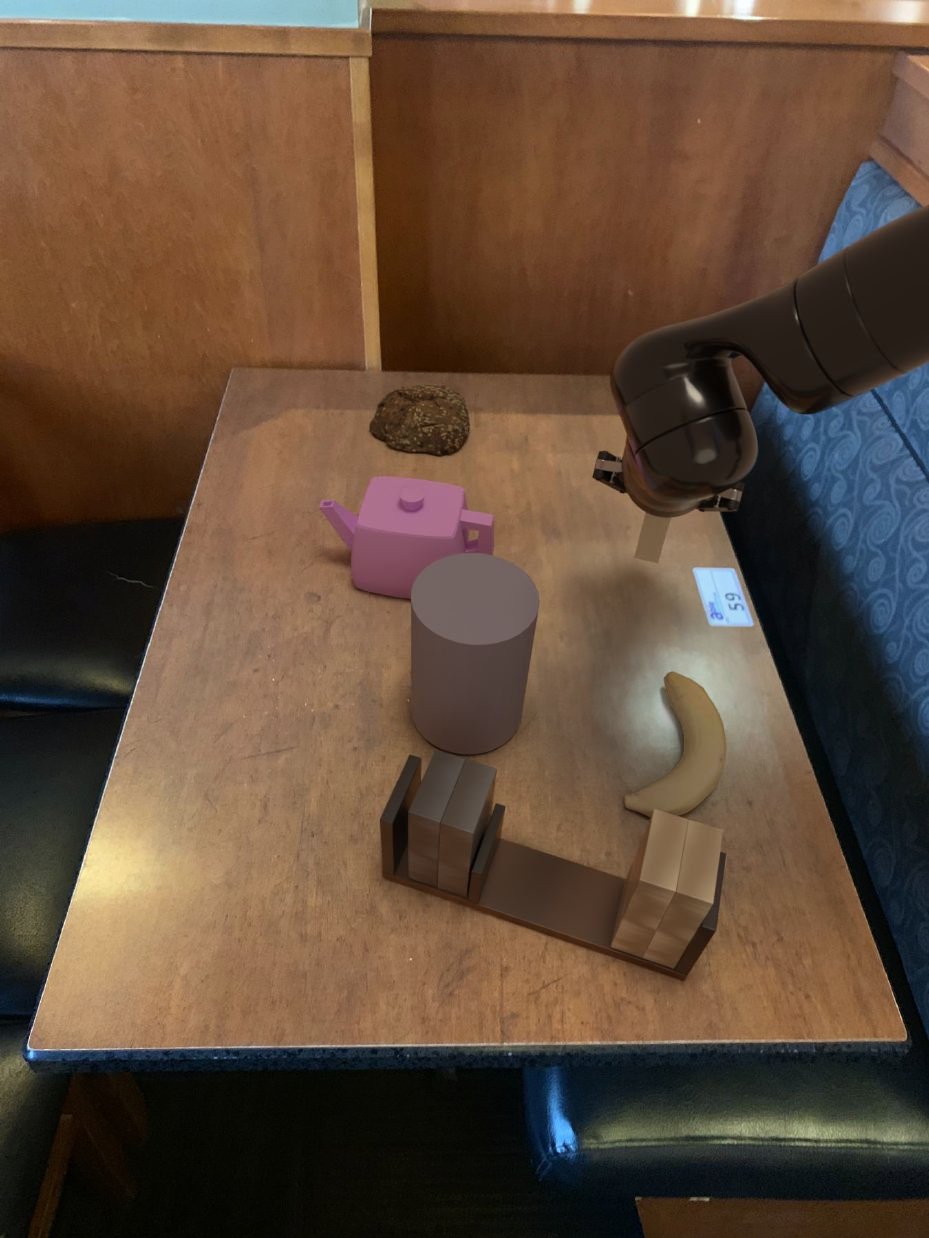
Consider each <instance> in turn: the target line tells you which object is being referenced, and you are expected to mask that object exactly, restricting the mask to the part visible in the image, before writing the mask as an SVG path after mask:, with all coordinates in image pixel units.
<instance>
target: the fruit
mask: <svg viewBox="0 0 929 1238" xmlns="http://www.w3.org/2000/svg"><path fill="white" fill-rule="evenodd" d="M663 684H664V688H665V692H666V695H667V697H668V700H669V703H670V705H671V707H672V709H673V711H674V713H675V715H676V717H677V719H678V721H679V723H680V726H681V729H682V730H681V731H682V735H683V742H684V743H683V744H684V746H683V748H684V749H683V753H682V756H681V758H680V760H679V762H678V763H677V765H675V767H674V768H673V770H672V771H670V772H668V773H667V774H666V775H664V776H663V777H661V778H660V779H658V780H656V781H655V782H653V783H651V784H649V785H647V786H646V787H644V788H643V789H641V790H639V791H638V792H636V793H631V794H626V795H625V797H624V807H625V808H626V809H627V810H631V811H635V812H638V813H640V814H642V815H644V816H647V817H649V818H651V815H652V813H653V810H654V809H657V810H660V811H663V812H666V813H670V814H673V815H676V816H679V817H680V816H681V815H684V814H686V813H689V812H690V811H692V810H693V809H695V808H696V807H698V806H699V805H700V804H701V803H702V802H703V801H705V800H706V798H707V797H708V796H709V795H710V794H711V793H712V792H713V790H714V789H715V787H716V786H717V784H718V782H719V780H720V779H721V777H722V774H723V772H724V768H725V766H726V765H725V764H726V759H727V737H726V736H727V735H726V731H725V726H724V723H723V719H722V717H721V714H720V712H719V710H718V707H716V705H715V703H714V701H713V700H712V699H711V697H710V695H709V694H708V693H707V691H706V689H705V688H704V686H702V685H700V684H699V683H698V682H697V681H695V680H693V679H692V678H690V677H688V676H685V675H683V674H681V673H680V672H677V671H670V672H667V673H666V674H665V675H664V677H663Z"/></svg>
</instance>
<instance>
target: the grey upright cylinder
mask: <svg viewBox="0 0 929 1238" xmlns="http://www.w3.org/2000/svg"><path fill="white" fill-rule="evenodd" d="M539 593H540V592H539V590H538V588H537V585H536V583H535V582H534V580H533V579H532V578H531V576H530V575H529V574H528V573H527V572H526V571H525V570H524V569H523V568H521V567H520V566H519V565H517V564H515V563H514V562H512V561H510V560H507V559H505V558H503V557H500V556H496V555H494V554H493V555H489V554H482V553H462V554H455V555H451V556H447V557H444V558H442V559H439V560H437V561H435V562H433V563H432V564H430V565H429V566H427V567H426V568H425V569H424V570H423V571H422V572H421V573H420V574H419V575H418V577H417V578H416V580H415V581H414V584H413V587H412V590H411V599H410V714H411V717H412V718H411V719H412V722H413V724H414V726H415V728H416V730H417V731H418V733H420V735H421V736H422V737H423V738H424V739H425V740H426V741H428V742H429V743H430V744H431V745H433V746H435V747H437V748H439V749H441V750H444V751H447V752H448V753H452V754H459V755H477V754H485V753H488V752H490V751H493V750H496V749H497V748H499V747H501V746H503V745H505V744H506V743H507V742H508V741H509V740H511V739H512V738H513V736H514V735H515V733H516V732H517V731H518V729H519V726H520V724H521V722H522V716H523V712H524V711H523V710H524V703H525V697H526V691H527V686H528V679H529V673H530V666H531V660H532V654H533V647H534V641H535V635H536V629H537V628H536V627H537V624H538V623H537V622H538V616H539V610H540V603H541V600H540V594H539Z"/></svg>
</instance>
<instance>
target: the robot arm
mask: <svg viewBox="0 0 929 1238" xmlns="http://www.w3.org/2000/svg"><path fill="white" fill-rule="evenodd" d="M741 356H742V357H744V358H745V359H746V360H747V361H748V362H749V363H750V364H751V365H752V367H754V369H755V370H756V372H757V373H758V374H759V376H760V377H761V378H762V379H763V381H764V382H765V384H766V386H767V387H768V388H769V390H770V392H772V393H773V395H774V396H775V398H777V400H779V401H780V403H781V404H782V405H783V406H785V407H786V408H787V409H789V410H790V411H792V412H794V413H796V414H799V415H805V416H808V415H815V414H819V413H823V412H825V411H826V412H827V411H829V410H831V409H833V408H835V407H838V406H840V405H842V404H844V403H846V402H849V401H851V400H852V399H855V398H856V397H859V396H861V395H864V394H866V393H869V392H870V391H872V390H875V389H876V388H879V387H881V386H883V385H885V384H887V383H889V382H892V381H894V380H896V379H898V378H901V377H902V376H904V375H906V374H908V373H910V372H913V371H914V370H916V369H918V368H920V367H922V366H925V365H927V364H929V204H927V205H924V206H921V207H919V208H917V209H915V210H912V211H910V212H908V213H906V214H904V215H902V216H900V217H898V218H896V219H894V220H892V221H890V222H888V223H886V224H884V225H882V226H880V227H879V228H876V229H875V230H873V231H871V232H870V233H867V234H866V235H864V236H863V237H861V238H860V239H858V240H856V241H854V242H852V243H851V244H849V245H848V246H846V247H844V248H843V249H841V250H838V251H837V252H836V253H834V254H833V255H831V256H829V257H827V258H826V259H824V260H823V261H821V262H818V264H816V265H813V267H811V268H809V269H808V270H806V271H804V272H802V273H801V274H800V275H798V276H796V277H794V278H793V279H791V280H789V281H788V282H786V283H784V284H782V285H781V286H778V287H777V288H774V289H772V290H770V291H768V292H766V293H764V294H762V295H759V296H757V297H754V298H751V299H749V300H747V301H744V302H741V303H739V304H736V305H733V306H729V307H727V308H725V309H721V310H719V311H716V312H712V313H709V314H705V315H701V316H699V317H695V318H690V319H687V320H683V321H678V322H674V323H670V324H667V325H663V326H660V327H657V328H654V329H651V330H648V331H646V332H644V333H642V334H640V335H638V336H637V337H635V338H634V339H632V340H631V341H630V342H629V343H627V345H626V346H625V347H624V348H623V349H622V350H621V351H620V353H619V354H618V356H617V358H616V359H615V361H614V363H613V366H612V368H611V371H610V375H609V387H610V391H611V395H612V398H613V401H614V404H615V407H616V410H617V412H618V415H619V416H620V419H621V422H622V426H623V428H624V431H625V433H626V437H625V443H624V444H625V445H624V448H623V449H624V450H623V455H622V457H620V456H618V455H615V454H613V453H612V452H609V451H608V450H599V451H598V454H597V457H596V461H595V464H594V468H593V472H592V476H591V478H592V479H593V480H595V481H597V482H600V483H602V484H603V485H605V486H607V487H609V488H611V489H612V490H615V491H617V492H619V493H620V494H623V495H625V494H627V495H628V496H629V498H630V500H631V501H632V502H633V503H634V504H635V506H636V507H638V508H639V509H640V510H642V511H643V512H644V513H648V514H651V515H653V516H657V517H663V518H671V519H673V518H677V517H678V518H679V517H682V516H685V515H687V514H689V513H691V512H693V511H695V510H698V512H701V513H705V512H707V513H708V512H709V513H710V512H713V513H714V512H730V513H733V512H738V510H739V507H740V503H741V499H742V494H743V491H744V487H745V485H746V484H745V483H744V482H742V481H743V480H744V479H745V478H746V477H747V476H748V475H749V474H750V473H751V471H752V470H753V469H754V466H755V464H756V463H757V460H758V455H759V444H758V443H759V442H758V435H757V432H756V428H755V426H754V422H753V420H752V417H751V414H750V412H749V411H748V407H747V404H746V402H745V399H744V396H743V393H742V391H741V388H740V385H739V383H738V380H737V378H736V375H735V373H734V370H733V366H732V361H733V360H735V359H736V358H738V357H741Z"/></svg>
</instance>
